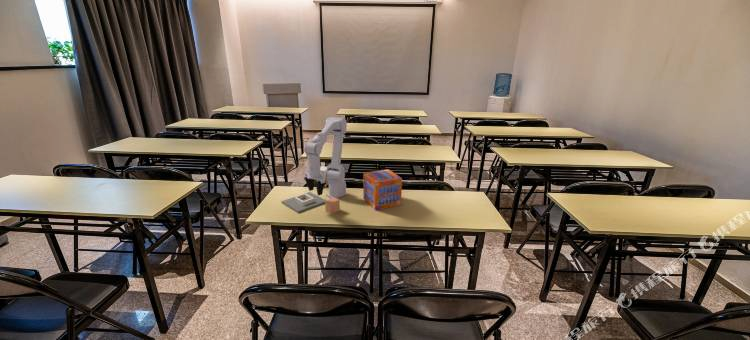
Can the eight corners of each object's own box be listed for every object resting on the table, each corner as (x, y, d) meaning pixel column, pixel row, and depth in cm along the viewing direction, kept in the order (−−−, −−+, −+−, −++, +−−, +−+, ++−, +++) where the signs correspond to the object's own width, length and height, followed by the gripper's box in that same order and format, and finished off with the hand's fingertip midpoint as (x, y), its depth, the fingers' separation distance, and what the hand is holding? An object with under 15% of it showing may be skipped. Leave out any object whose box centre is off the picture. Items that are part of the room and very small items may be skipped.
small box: (325, 187, 185) (324, 170, 182) (316, 186, 186) (316, 170, 183) (330, 182, 193) (329, 166, 189) (321, 181, 194) (320, 165, 190)
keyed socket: (310, 193, 176) (309, 188, 175) (327, 202, 165) (326, 197, 164) (281, 202, 164) (281, 197, 163) (298, 213, 153) (297, 207, 152)
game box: (401, 205, 164) (402, 178, 159) (375, 210, 157) (375, 182, 152) (387, 194, 177) (388, 168, 172) (363, 198, 171) (363, 172, 165)
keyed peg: (334, 207, 160) (334, 197, 158) (339, 210, 157) (339, 199, 155) (325, 211, 155) (325, 200, 153) (330, 214, 153) (330, 203, 151)
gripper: (298, 164, 150) (300, 190, 155) (315, 172, 140) (317, 199, 145) (311, 161, 155) (312, 186, 159) (328, 169, 145) (329, 195, 150)
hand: (315, 192), depth 152 cm, fingers open, 7 cm apart
